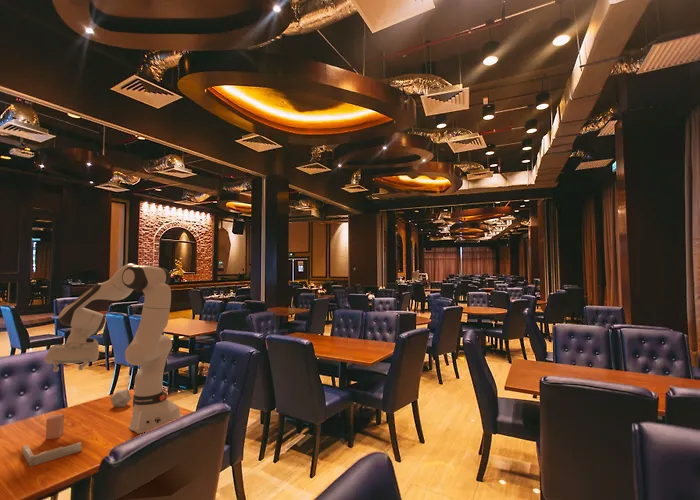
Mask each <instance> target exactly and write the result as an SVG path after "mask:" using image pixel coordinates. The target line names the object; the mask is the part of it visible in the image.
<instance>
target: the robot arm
mask: <svg viewBox="0 0 700 500" xmlns="http://www.w3.org/2000/svg"><path fill="white" fill-rule="evenodd" d="M170 282H171V273H170V271H169V270H168V269H167V268H164V267H161V266H153V265H137V264H136V263H127V264H125V265H123V266H122V267H120V269H118V270H117V271H115V273H114V274H113V275H112V277H111V278H109V279H108V280H106V281H103V282H97V283H95V284H94V285H92V286H91V287H89V288H88V289H87V290H86V291H85V292H83V293H82V294H81V295H80V296H78V297H77V298H76V299H75V300H74V301H71V303H69V304H67V305H66V306H65V307H64V308H62V310H61V311H60V312H59V315H58V320H59V322H60V323H61V324H62V325H63V326H67V327H71V328H70V334H69V335H68V337H67V340H66V341H65V344H54V345H53V346H50V347H49V348H48V352H47V353H46V356H45V357H44V362H45V363H46V364H47V365H53V369H52V370H53V372H55V373H56V372H59V370H60V366H58V365H59V364H76V363H81V364H79V365H78V369H77V370H78V371H83V370H84V367H86V366H87V365H88V364H89V363H91V362H92V363H93V362H94V363H95V362H97V361H98V359H99V356H100V350H99V348H100V347H99V345H100V344H99V342H98V340H97V339H96V338H92V337H91V336H92V335H96V334H97V333H99V332H100V331H102V329H103V328H104V326H105V324H106V323H105V322H106V317H105V314H103V313H101V312H99V311H95V310H92V309H89V308H86V306H87V305H88V304H89V303H91V302H92V301H95V300H107V301H121V300H124V299H126V298H128V297H129V296H130V295H131V294H132V293H133V291H134V292H137V293H140V292H143V294H144V299H143V300H144V301H143V304H142V305H143V306H142V311H141V312H142V313H141V317H140V322H139V325H138V328H137V329H136V333H135V335H134V337H133V339H132V341H131V342H130V344H129V345H128V346H127V348H126V349H125V351H124V358H125V361H126V362H127V363H128V364H129V365H131V366H140V367H139V369H138V371H137V373H136V374H135V377H134V393H133V397H132V408H133V409H132V415H131V421H130V423H129V426H128V429H129V430H130V431H133V432H136V434H145V433H144V432H146V431H148V430H151V429H153V428H155V427H158V426H160V425H162V424H165V423H167V422H169V421H172V420H174V419H177V418H179V417H181V416H183V415H184V414H181V411H180V407H179V405H177V404H176V403H174V402H172V401H171V400H169V399H168V397H167V396H168V391H164V390H163V379H164V370H165V366H166V363H167V359H168V355H169V353H170V352H171V351H172V348H173V341H172V339H171V338H170V337H169V335H165V334H163V332H164V331H165V329H166V327H167V326H168V323H169V318H170V311H171V306H172V305H171V303H172V288H171V287H170V285H169V284H170Z"/></svg>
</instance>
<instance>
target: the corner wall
mask: <svg viewBox="0 0 700 500" xmlns="http://www.w3.org/2000/svg"><path fill="white" fill-rule="evenodd" d="M79 452H82V442H81V441H79V442H75V443H72V444H69V445H66V446H63V445H62V446H61V445H60V446H59V447H55V448H51V449H48V450H45V451H42V452H39V453H38V454H36V455H35V454H34V453H33V452H32V450H31V448H30V446H29V445H28V444H25V445H22V455H23V457H24V459H25V460H26V462H27V464H28V466H29V467H30V466H31V467H33V466H36V465H40V464H44V463H46V462H50V461H54V460H56V459H60V458H63V457H66V456H69V455H73V454H76V453H79Z"/></svg>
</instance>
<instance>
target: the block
mask: <svg viewBox="0 0 700 500" xmlns="http://www.w3.org/2000/svg"><path fill="white" fill-rule="evenodd" d="M64 422H65V414H64V413H60V414H53V415H52V414H51V415H50V416H49V417H48V418H46V427H45V440H50V439H52V440H53V439H60V437H61V436H62V435H63V434H64V425H65V424H64Z"/></svg>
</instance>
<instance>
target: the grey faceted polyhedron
mask: <svg viewBox="0 0 700 500" xmlns="http://www.w3.org/2000/svg"><path fill="white" fill-rule="evenodd" d="M109 399H110V401H111V404H112V406H113V408H125V407H126V406H127V405H128V403H129V402H130V401H131V400H133V397H132V396H131V394H130V392H129V390H128V389H118V390H116V392H114V393H113V394H112V396H111V397H109Z"/></svg>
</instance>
